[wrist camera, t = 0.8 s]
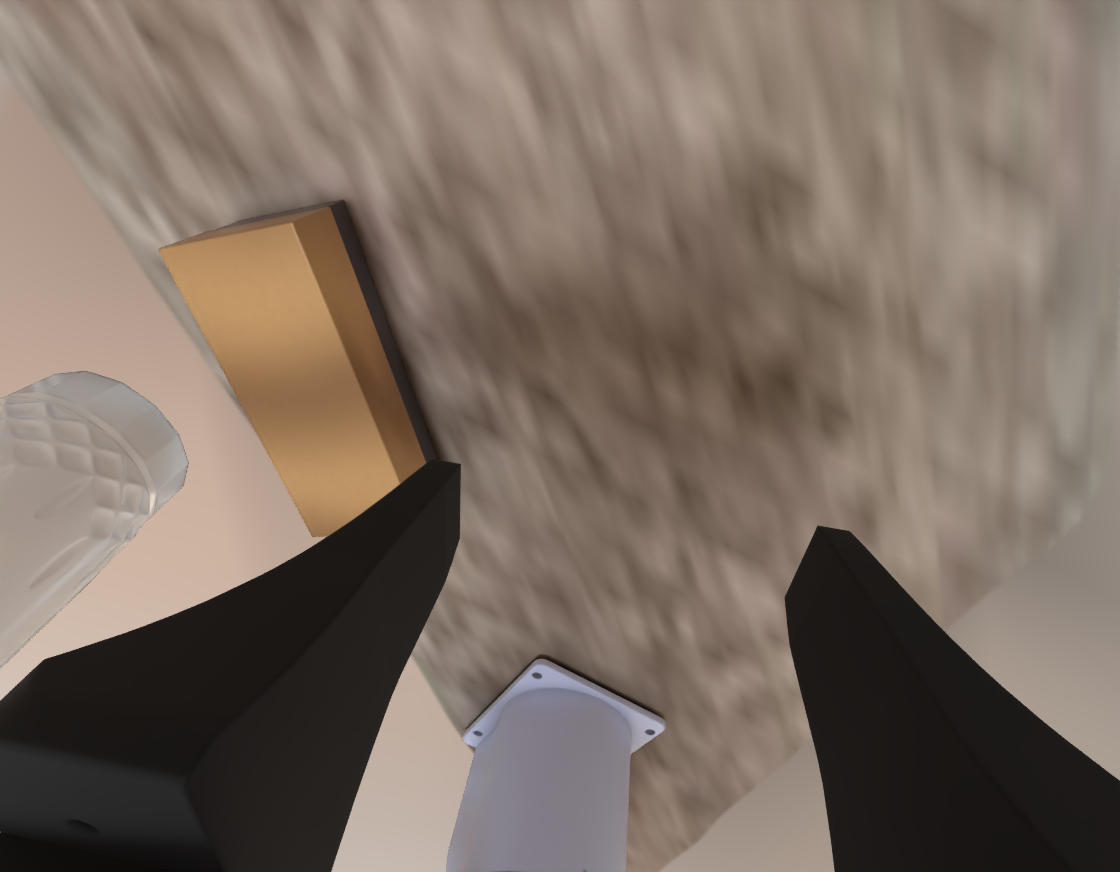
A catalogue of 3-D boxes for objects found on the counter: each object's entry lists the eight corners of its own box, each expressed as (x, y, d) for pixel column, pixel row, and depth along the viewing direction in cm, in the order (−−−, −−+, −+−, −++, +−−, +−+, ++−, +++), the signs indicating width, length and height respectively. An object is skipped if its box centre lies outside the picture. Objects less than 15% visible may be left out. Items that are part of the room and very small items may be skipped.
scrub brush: (449, 474, 24) (419, 531, 21) (353, 482, 25) (312, 537, 22) (351, 197, 19) (291, 221, 16) (233, 221, 20) (156, 249, 17)
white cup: (230, 442, 25) (13, 629, 17) (167, 532, 29) (-36, 722, 20) (53, 318, 23) (-298, 460, 14) (10, 433, 27) (-288, 599, 18)
